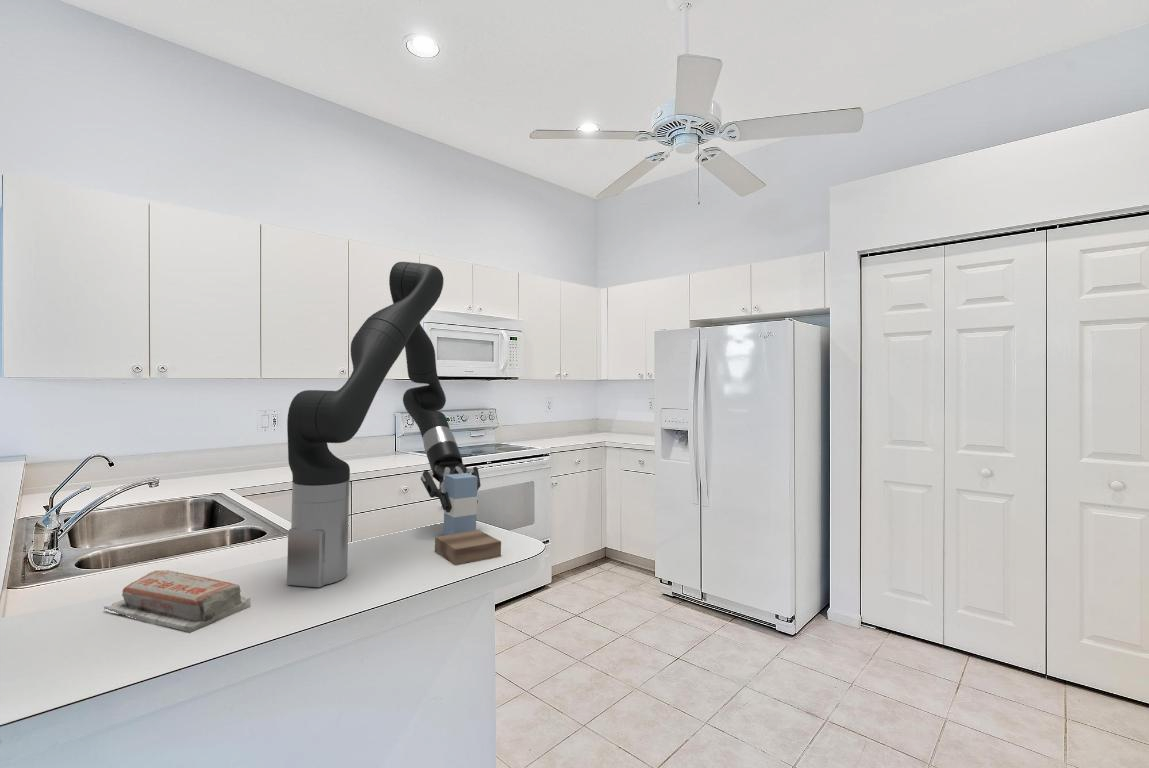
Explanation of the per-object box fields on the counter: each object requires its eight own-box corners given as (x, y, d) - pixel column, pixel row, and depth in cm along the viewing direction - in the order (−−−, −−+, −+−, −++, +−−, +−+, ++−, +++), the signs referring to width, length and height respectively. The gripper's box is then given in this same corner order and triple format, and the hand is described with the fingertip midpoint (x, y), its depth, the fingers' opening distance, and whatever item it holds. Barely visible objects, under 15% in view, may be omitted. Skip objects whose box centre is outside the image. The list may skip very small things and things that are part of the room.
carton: (476, 538, 123) (477, 476, 122) (453, 542, 119) (455, 478, 119) (465, 532, 127) (466, 472, 127) (443, 536, 124) (444, 474, 124)
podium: (500, 556, 111) (501, 541, 111) (455, 565, 105) (455, 549, 105) (478, 543, 119) (478, 529, 119) (434, 551, 113) (435, 536, 113)
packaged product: (254, 577, 84) (190, 601, 75) (253, 608, 84) (190, 636, 75) (171, 561, 90) (103, 582, 81) (171, 590, 90) (102, 615, 81)
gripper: (417, 441, 125) (436, 502, 116) (473, 438, 134) (496, 495, 125) (408, 460, 130) (426, 522, 120) (463, 457, 138) (484, 513, 129)
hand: (461, 508), depth 122 cm, fingers closed on carton, 5 cm apart
